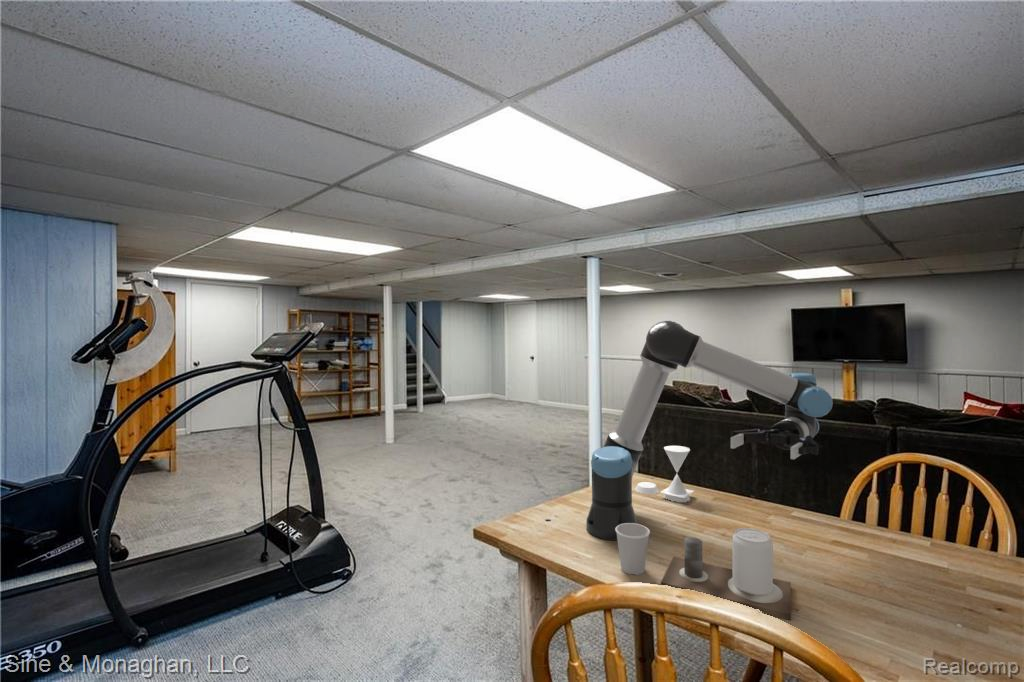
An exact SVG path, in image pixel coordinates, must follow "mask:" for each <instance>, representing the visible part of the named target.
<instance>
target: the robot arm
mask: <svg viewBox="0 0 1024 682" xmlns="http://www.w3.org/2000/svg"><path fill="white" fill-rule="evenodd" d="M640 358H641V361H642V362H641V366H640V369H639V371H638V374H637V376H636V379H635V381H634V383H633V386H632V389H631V392H630V394H629V395H628V399H627V400H626V403H625V405H624V409H623V411H622V413H621V415H620V417H619V418H620V419H619V421H618V422H617V426H616V428H615V430H614V431H611V432H609V433H608V434H607V435H608V436H607V437H606V439H605V442H604V446H602V447H600V448H597V449H595V450H594V451H593V452H592V454H591V460H590V465H591V505H590V508H589V512H588V514H587V518H586V530H587V532H588V533H589V534H590V535H592V536H594V537H596V538H599V539H603V540H610V541H618V540H617V532H616V530H615V529H616V527H617V526H618V525H620V524H624V523H635V524H639V521H638V519H637V517H636V516H637V515H636V513H635V509H634V506H633V490H632V489H633V476H634V473H635V471H636V468H637V467H638V466H637V465H638V464H639V460H640V459H641V456H642V453H643V451H644V445H643V444H642V440H643V438H644V435H645V433H646V431H647V429H648V428H647V427H648V426H649V424H650V421H651V419H652V416H653V414H654V411H655V408H656V407H657V404H658V401H659V399H660V397H661V395H662V392H663V389H664V387H665V385H666V382H667V380H668V377H669V376H670V375H669V374H670V373H672V372H675V371H677V369H678V367H679V366H680V367H682V368H686V369H688V368H691V367H692V368H695V369H697V370H700V371H702V372H705V373H707V374H709V375H712V376H713V377H717V378H719V379H722V380H724V381H727V382H729V383H731V384H735V385H737V386H739V387H741V388H743V389H746V390H748V391H750V392H751V391H752V392H754V393H756V394H758V395H760V396H763V397H765V398H768V399H771V400H773V401H775V402H778V403H780V404H783V405H784V406H785V408H784V419H783V420H780V421H778V422H776V423H774V424H773V425H772V426H771V428H770V429H768V430H767V429H764V430H763V429H762V430H761V428H758V427H757V428H751V429H741V430H732V431H730V449H732V450H733V449H737V448H739V447H740V446H742V445H744V444H747V443H753V444H754V443H761V444H763V445H774V446H776V447H777V448H779V449H781V450H784V451H785V450H786V451H788V450H789V451H790V460H796V459H797V458H799V457H800V456H802V455H809V454H810V453H811V454H812V455H814V456H818V455H819V444H818V443H817V442H816V441H815V440H814V437H815V436H817V434H818V433H819V430H820V424H819V421H818V420H817V418H822V417H824V416H826V415H828V413H831V410H832V408H833V401H834V400H833V398H832V396H831V394H830V393H829V392H828V391H827V390H826V389H824V388H822V387H820V386H818V385H817V377H816V375H815V374H812V373H806V372H791V373H788V374H786V373H784V372H781V371H779V370H776V369H773V368H771V367H768V366H766V365H763V364H761V363H759V362H755V361H753V360H750V359H748V358H745V357H742V356H740V355H738V354H735V353H733V352H731V351H728V350H726V349H723V348H721V347H718V346H715V345H713V344H710V343H708V342H705V341H704V340H703V338H702V336H700V335H697V334H695V333H693V332H691V331H689V330H687V329H685V328H684V327H683V326H682V325H681V324H680V323H677V322H676V321H671V320H663V321H659V322H657V323H655V324H653V325H652V326H651V327H650V329H648V332H647V334H646V338H645V343H644V346H643V348H642V351H641V354H640Z"/></svg>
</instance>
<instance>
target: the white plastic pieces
mask: <svg viewBox="0 0 1024 682" xmlns="http://www.w3.org/2000/svg"><path fill="white" fill-rule="evenodd" d="M663 449H664V451H665V454H666V455H667V456H668V459H669V461H670V463H671V465H672V467H673V468H674V471H675V472H676V474H675V475H674V478H673V480H672V481H671V483H670V484H669V486H667V487H666V488H665V489H663V490H661V491H660V490H659V488H658V486H657V484H656V483H654V482H650V481H641V482H638V483H637V485H636V487H635V488H634V491H635V490H636V491H637V492H640V493H645V494H655V495H657V494H656V493H658V494H659V493H661V494H664V495H663V497H665V498H666V500H667V499H668V500H667V501H669V500H671V501H670V502H673V501H676V502H675V503H687V501H688V502H690V501H691V497H690V495H691V494H692V493H694V492H695V490H691V489H687V488H685V486H684V484H683V482H682V480H681V478H680V476H679V474H678V472H679V471H680V468H681V467H682V465H683V463H684V461H685V460H686V457H687V456H688V454H690V451H691V449H690V447H687V446H681V445H667V446H664V447H663ZM636 491H635V492H636ZM637 492H636V493H637ZM640 493H639V494H640ZM665 498H664V499H665Z"/></svg>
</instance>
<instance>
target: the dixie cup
mask: <svg viewBox="0 0 1024 682" xmlns="http://www.w3.org/2000/svg"><path fill="white" fill-rule="evenodd" d="M615 530H616V532H617V540H616V541H617V546H618V552H619V553H618V554H619V563H620V567H621V568H620V569H621V571H622V572H623V573H625V574H627V573H628V575H630V574H635V575H634V576H640V575H643V574H644V573H645V571H646V570H645V569H646V561H647V560H646V559H647V556H648V555H647V554H648V545H649V537H650V533H651V530H650V529H649V528H648V527H646V526H645V525H642V524H640V523H638V524H635V523H624V524H620V525H618V526H617V527H616V529H615ZM642 573H643V574H642Z"/></svg>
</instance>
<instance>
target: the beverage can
mask: <svg viewBox="0 0 1024 682" xmlns="http://www.w3.org/2000/svg"><path fill="white" fill-rule="evenodd" d="M731 542H732V544H731V545H732V553H731V555H732V565H731V566H732V568H731V569H732V580H733V583H734V585H735V586H736V587H737V588H739V589H740V590H742V591H744V592H747V593H750V594H754V595H764V594H768V593H770V592H771V591H772V590H773V579H774V576H773V575H774V570H773V569H774V567H773V566H774V563H773V562H774V557H773V556H774V554H773V553H774V550H773V549H774V547H773V546H774V545H773V541H772V540H771V536H770V535H769V534H768V533H766V532H765V531H762V530H760V529H757V528H756V529H755V528H749V527H742V528H741V527H740V528H737V529H735V531H734V534H733V535H732V541H731Z"/></svg>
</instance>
